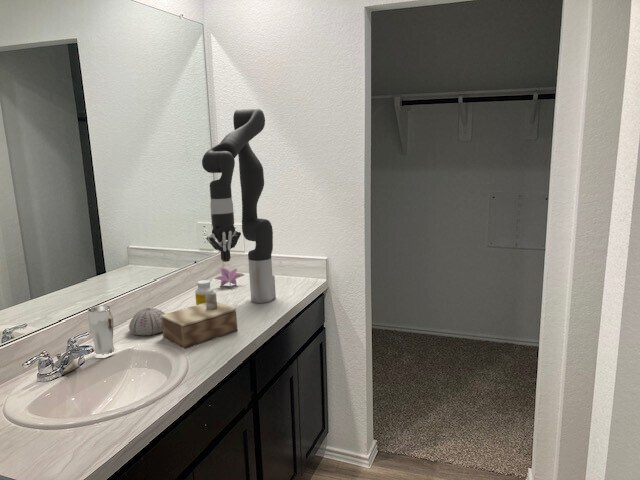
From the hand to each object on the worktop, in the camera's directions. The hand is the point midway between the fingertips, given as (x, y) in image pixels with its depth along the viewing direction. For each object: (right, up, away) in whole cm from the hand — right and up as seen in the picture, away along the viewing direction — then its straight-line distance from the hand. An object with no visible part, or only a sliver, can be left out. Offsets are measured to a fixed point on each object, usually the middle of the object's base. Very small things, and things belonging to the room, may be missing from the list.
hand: (225, 261), depth 175 cm
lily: (-8, -14, +51) cm, 54 cm away
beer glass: (-34, -28, -18) cm, 48 cm away
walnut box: (-8, -24, -4) cm, 26 cm away
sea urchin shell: (-27, -24, +2) cm, 36 cm away
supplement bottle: (-10, -21, +16) cm, 28 cm away
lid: (-8, -17, -5) cm, 20 cm away
